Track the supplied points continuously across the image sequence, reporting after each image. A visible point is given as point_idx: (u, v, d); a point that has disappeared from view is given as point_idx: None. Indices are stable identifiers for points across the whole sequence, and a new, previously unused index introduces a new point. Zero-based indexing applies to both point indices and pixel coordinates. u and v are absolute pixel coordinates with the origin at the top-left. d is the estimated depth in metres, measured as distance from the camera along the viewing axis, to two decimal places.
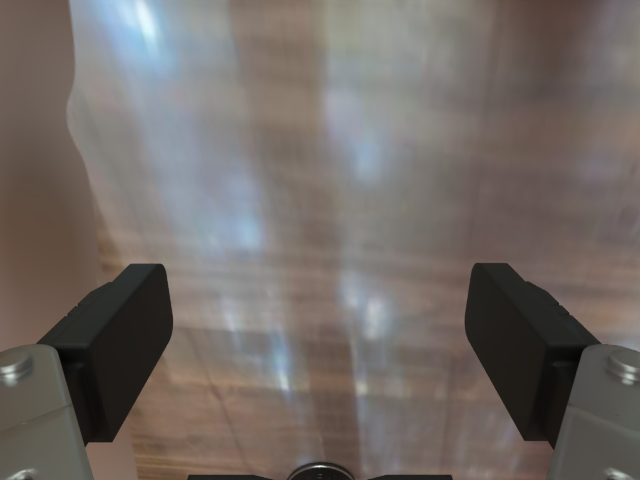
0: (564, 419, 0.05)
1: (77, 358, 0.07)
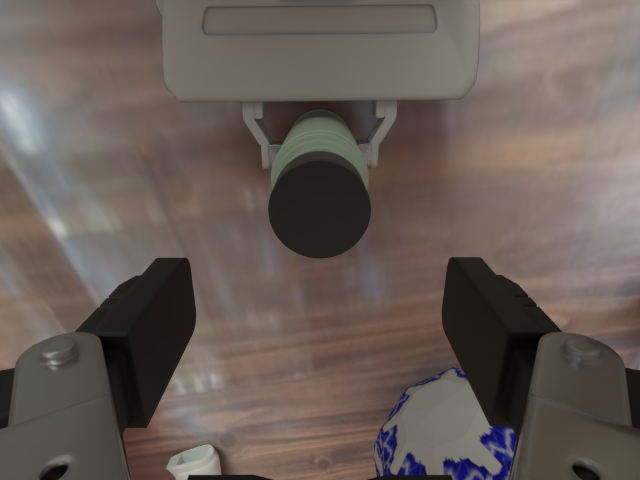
0: (529, 409, 0.05)
1: (116, 346, 0.08)
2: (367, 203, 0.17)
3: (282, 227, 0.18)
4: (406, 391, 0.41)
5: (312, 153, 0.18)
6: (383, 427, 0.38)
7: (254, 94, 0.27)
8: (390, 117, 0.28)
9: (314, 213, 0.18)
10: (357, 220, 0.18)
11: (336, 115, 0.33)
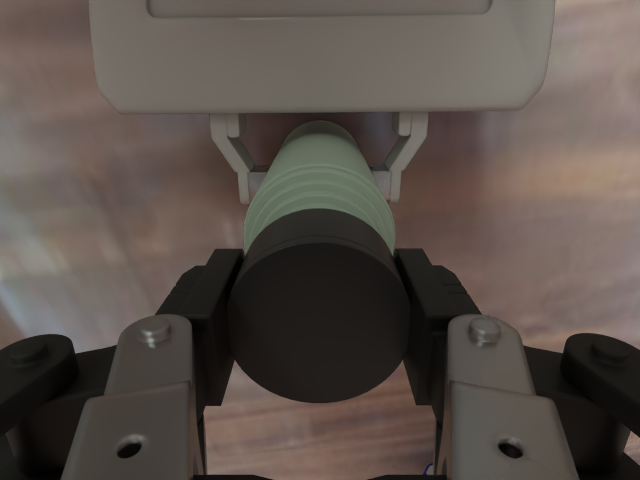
0: (452, 397, 0.05)
1: (199, 327, 0.08)
2: (408, 315, 0.09)
3: (250, 354, 0.10)
4: (427, 471, 0.32)
5: (306, 215, 0.10)
6: None
7: (225, 103, 0.19)
8: (418, 135, 0.20)
9: (309, 332, 0.10)
10: (388, 343, 0.10)
11: (341, 129, 0.25)
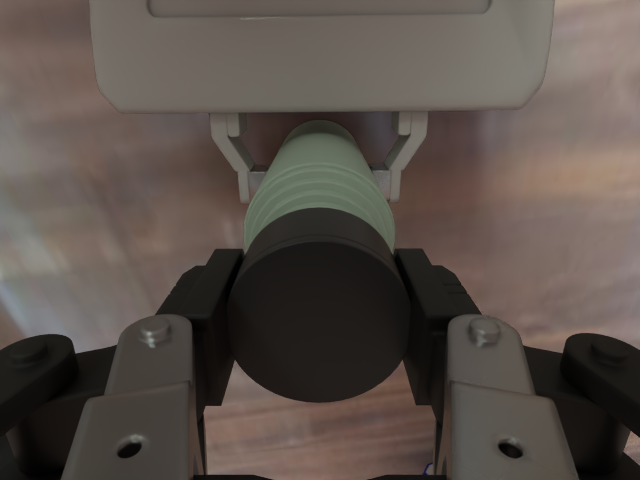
0: (452, 397, 0.05)
1: (199, 327, 0.08)
2: (320, 245, 0.09)
3: (334, 388, 0.10)
4: (427, 470, 0.33)
5: None
6: None
7: (225, 102, 0.19)
8: (418, 134, 0.20)
9: (319, 337, 0.10)
10: (351, 269, 0.09)
11: (341, 128, 0.25)
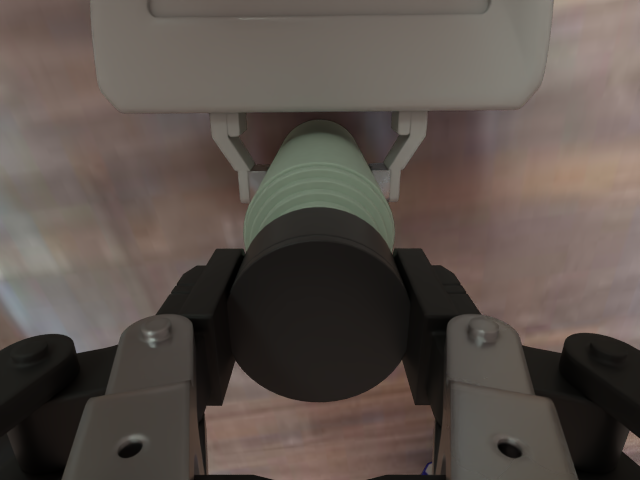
0: (452, 397, 0.05)
1: (200, 327, 0.08)
2: (229, 311, 0.09)
3: (394, 327, 0.09)
4: (427, 469, 0.33)
5: None
6: None
7: (226, 102, 0.19)
8: (417, 134, 0.20)
9: (328, 329, 0.10)
10: (257, 290, 0.09)
11: (341, 128, 0.25)
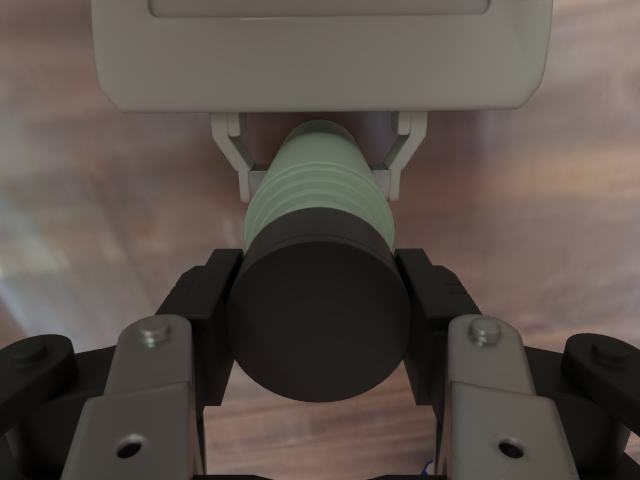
0: (453, 397, 0.05)
1: (199, 327, 0.08)
2: (284, 393, 0.10)
3: (333, 260, 0.09)
4: (427, 468, 0.33)
5: None
6: None
7: (226, 102, 0.19)
8: (417, 134, 0.20)
9: (321, 320, 0.09)
10: (266, 368, 0.10)
11: (341, 127, 0.25)
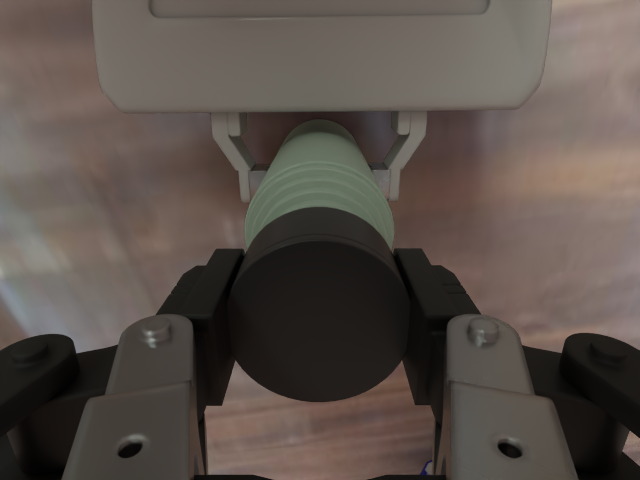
0: (452, 397, 0.05)
1: (200, 327, 0.08)
2: (388, 370, 0.10)
3: (246, 303, 0.09)
4: (426, 468, 0.33)
5: (371, 230, 0.11)
6: None
7: (226, 102, 0.19)
8: (417, 134, 0.20)
9: (309, 324, 0.09)
10: (354, 378, 0.10)
11: (340, 127, 0.25)
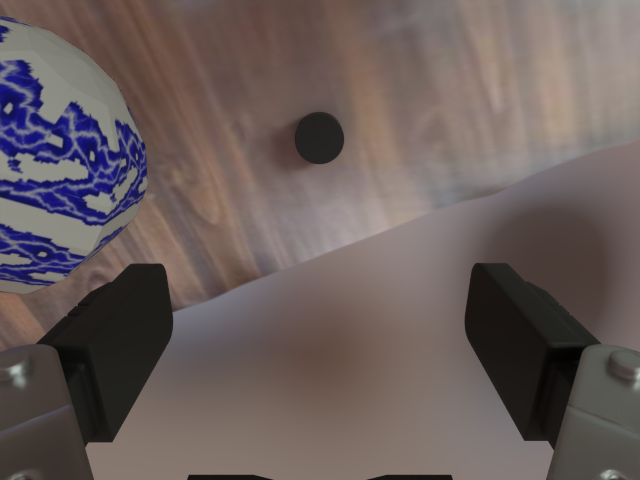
0: (564, 419, 0.05)
1: (77, 358, 0.07)
2: (338, 153, 0.37)
3: (301, 132, 0.37)
4: None
5: None
6: (18, 20, 0.29)
7: None
8: None
9: (317, 138, 0.37)
10: (328, 155, 0.37)
11: None
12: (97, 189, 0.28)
